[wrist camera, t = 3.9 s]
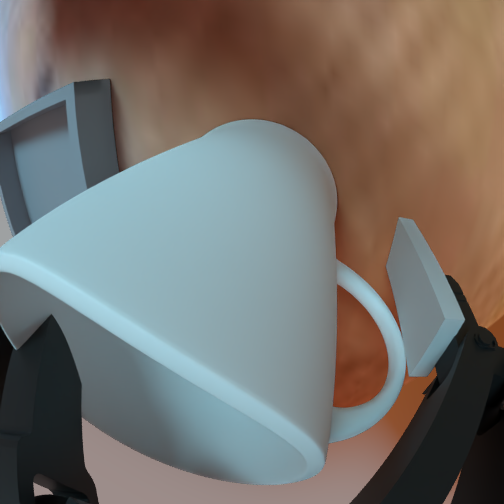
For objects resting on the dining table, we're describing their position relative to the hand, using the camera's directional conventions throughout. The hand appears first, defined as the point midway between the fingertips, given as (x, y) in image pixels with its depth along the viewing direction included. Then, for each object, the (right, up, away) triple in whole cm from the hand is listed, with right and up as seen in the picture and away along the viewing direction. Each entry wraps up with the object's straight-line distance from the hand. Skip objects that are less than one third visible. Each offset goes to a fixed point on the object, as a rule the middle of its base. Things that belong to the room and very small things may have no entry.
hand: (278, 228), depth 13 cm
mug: (0, +1, +1) cm, 2 cm away
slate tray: (-16, +3, +5) cm, 17 cm away
